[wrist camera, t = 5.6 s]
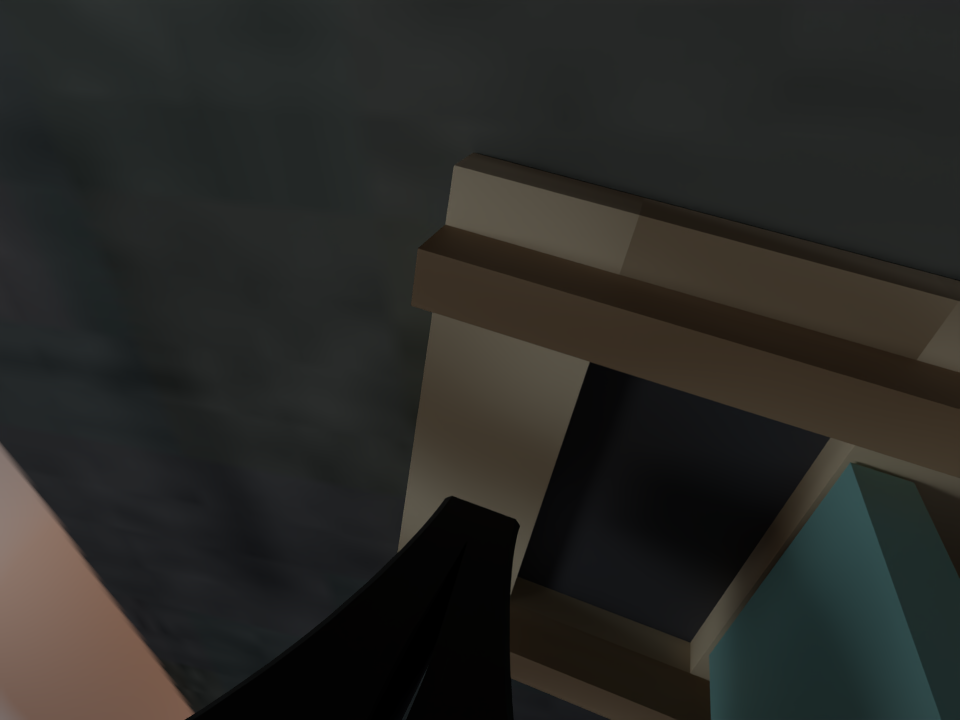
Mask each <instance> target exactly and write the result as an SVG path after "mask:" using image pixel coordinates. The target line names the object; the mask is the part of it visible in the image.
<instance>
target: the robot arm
mask: <svg viewBox="0 0 960 720" xmlns="http://www.w3.org/2000/svg"><path fill="white" fill-rule="evenodd" d="M519 528H520V525H519V523H518V522H517V520H516V519H514V518H511V517H509V516H506V515H503V514H501V513H498V512H495V511H492V510H490V509H487V508H484V507H482V506H479V505H476V504H473V503H471V502H468V501H465V500H463V499H460V498H457V497H454V496H450V497H447V498H445V499H444V501H443V502H442V503H441V505H440V506H439V507H438V509H437V510H436V511H435V512H434V513H433V515H432V516H431V517H430V518H429V520H428V521H427V522H426V523H425V524H424V525H423V526H422V528H421V529H420V530H419V531H418V532H417V533H416V534H415V535H414V536H413V537H412V538H411V540H410V541H409V542H408V543H407V544H406V545H405V546H404V547H403V548H402V549H401V550H400V551H399V552H398V553H397V554H396V555H395V556H394V557H393V558H392V559H391V560H390V561H389V562H388V563H387V564H386V565H385V566H384V567H383V568H382V569H381V570H380V571H379V572H378V573H377V574H376V575H375V576H374V577H372V578H371V579H370V580H369V581H368V582H367V583H366V584H365V585H364V586H363V587H362V588H360V589H359V590H358V591H357V592H356V593H355V594H354V595H352V596H351V597H350V598H349V599H348V600H347V601H346V602H344V603H343V604H342V605H341V606H340V607H339V608H338V609H336V610H335V611H334V612H333V613H332V614H331V615H330V616H328V617H327V618H326V619H325V620H324V621H322V622H321V623H320V624H319V625H317V626H316V627H315V628H314V629H313V630H311V631H310V632H309V633H308V634H306V635H305V636H304V637H302V638H301V639H300V640H299V641H297V642H296V643H295V644H293V645H292V646H291V647H289V648H288V649H287V650H286V651H284V652H283V653H282V654H280V655H279V656H278V657H276V658H275V659H274V660H272V661H271V662H270V663H268V664H267V665H265V666H264V667H263V668H261V669H260V670H258V671H257V672H255V673H254V674H253V675H251V676H250V677H248V678H247V679H245V680H244V681H243V682H241V683H240V684H238V685H237V686H235V687H234V688H233V689H231V690H230V691H228V692H227V693H225V694H224V695H222V696H221V697H219V698H218V699H216V700H215V701H213V702H212V703H210V704H209V705H207V706H206V707H204V708H203V709H201V710H200V711H198V712H197V713H195V714H193V715H192V716H190V717H189V718H187V719H185V720H402V718H403V716H404V714H405V712H406V710H407V708H408V706H409V704H410V702H411V700H412V698H413V696H414V694H415V692H416V690H417V687H418V685H419V683H420V681H421V679H422V677H423V675H424V673H425V671H426V669H427V671H426V674H425V677H424V679H423V681H422V684H421V686H420V689H419V691H418V693H417V696H416V698H415V700H414V703H413V705H412V707H411V710H410V712H409V714H408V717H407V719H406V720H513V706H512V689H511V671H510V592H511V578H512V566H513V557H514V551H515V545H516V540H517V535H518V531H519ZM428 665H429V666H428ZM427 667H428V668H427Z"/></svg>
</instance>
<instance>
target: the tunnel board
mask: <svg viewBox="0 0 960 720" xmlns="http://www.w3.org/2000/svg"><path fill="white" fill-rule="evenodd" d="M411 306H414V307H417V308H420V309H424V310H427V311H430V312H433V314H432V321H431V327H430V334H429V341H428V348H427V355H426V362H425V369H424V376H423V382H422V389H421V396H420V403H419V410H418V417H417V424H416V430H415V437H414V444H413V451H412V458H411V465H410V472H409V479H408V485H407V492H406V499H405V506H404V513H403V520H402V527H401V533H400V540H399V547H398V552H399V551H400V550H401V549H402V548H403V547H404V546H405V545H406V544H407V543H408V542H409V541H410V540H411V538H412V537H413V536H414V535H415V534H416V533H417V532H418V531H419V530H420V529H421V528H422V526H423V525H424V524H425V523H426V522H427V521H428V520H429V518H430V517H431V516H432V515H433V513H434V512H435V511H436V510H437V509H438V507H439V506H440V505H441V503H442V502H443V501H444V499H445V498H447V497H450V496H454V497H457V498H460V499H463V500H465V501H468V502H471V503H473V504H476V505H479V506H482V507H484V508H487V509H490V510H492V511H495V512H498V513H501V514H503V515H506V516H509V517H511V518H514V519H516V520H517V522H518V523H519V525H520V528H519V531H518V535H517V540H516V545H515V551H514V557H513V566H512V578H511V592H510V671H511V678H512V679H514V680H517V681H519V682H522V683H524V684H526V685H529V686H531V687H534V688H536V689H539V690H541V691H543V692H546V693H548V694H551V695H553V696H555V697H558V698H560V699H563V700H565V701H568V702H570V703H572V704H575V705H577V706H580V707H582V708H584V709H587V710H589V711H592V712H594V713H597V714H599V715H601V716H604V717H606V718H609V719H611V720H711V706H710V670H709V655H710V653H711V652H712V651H713V649H714V648H715V646H716V645H717V644H718V642H719V641H720V640H721V638H722V637H723V635H724V634H725V633H726V631H727V630H728V629H729V627H730V626H731V625H732V623H733V622H734V620H735V619H736V618H737V616H738V615H739V614H740V612H741V611H742V610H743V608H744V607H745V605H746V604H747V603H748V601H749V600H750V599H751V597H752V596H753V595H754V593H755V592H756V590H757V589H758V588H759V586H760V585H761V584H762V582H763V581H764V580H765V578H766V577H767V575H768V574H769V573H770V571H771V570H772V569H773V567H774V566H775V565H776V563H777V562H778V560H779V559H780V558H781V556H782V555H783V554H784V552H785V551H786V549H787V548H788V547H789V545H790V544H791V543H792V541H793V540H794V539H795V537H796V536H797V534H798V533H799V532H800V530H801V529H802V528H803V526H804V525H805V524H806V522H807V521H808V519H809V518H810V517H811V515H812V514H813V513H814V511H815V510H816V509H817V507H818V506H819V504H820V503H821V502H822V500H823V499H824V498H825V496H826V495H827V494H828V492H829V491H830V489H831V488H832V487H833V485H834V484H835V483H836V481H837V480H838V478H839V477H840V476H841V474H842V473H843V472H844V470H845V469H846V468H847V466H848V465H849V463H850V462H851V463H854V464H857V465H860V466H863V467H867V468H870V469H873V470H876V471H879V472H882V473H885V474H888V475H892V476H895V477H898V478H901V479H904V480H907V481H910V482H913V483H915V485H916V487H917V490H918V492H919V494H920V496H921V498H922V500H923V502H924V504H925V506H926V509H927V511H928V513H929V515H930V517H931V519H932V521H933V523H934V525H935V528H936V530H937V532H938V534H939V536H940V538H941V540H942V542H943V544H944V547H945V549H946V551H947V553H948V555H949V557H950V559H951V561H952V563H953V566H954V568H955V570H956V572H957V574H958V576H959V578H960V281H957V280H954V279H950V278H946V277H942V276H939V275H935V274H931V273H927V272H923V271H920V270H916V269H912V268H908V267H904V266H901V265H897V264H893V263H889V262H886V261H882V260H878V259H874V258H870V257H867V256H863V255H859V254H855V253H851V252H848V251H844V250H840V249H836V248H833V247H829V246H825V245H821V244H817V243H814V242H810V241H806V240H802V239H798V238H795V237H791V236H787V235H783V234H780V233H776V232H772V231H768V230H764V229H761V228H757V227H753V226H749V225H745V224H742V223H738V222H734V221H730V220H727V219H723V218H719V217H715V216H711V215H708V214H704V213H700V212H696V211H692V210H689V209H685V208H681V207H677V206H673V205H670V204H666V203H662V202H658V201H655V200H651V199H647V198H643V197H639V196H636V195H632V194H628V193H624V192H620V191H617V190H613V189H609V188H605V187H602V186H598V185H594V184H590V183H586V182H583V181H579V180H575V179H571V178H567V177H564V176H560V175H556V174H552V173H549V172H545V171H541V170H537V169H533V168H530V167H526V166H522V165H518V164H514V163H511V162H507V161H503V160H499V159H496V158H492V157H488V156H484V155H480V154H477V153H472V154H471V155H469V156H468V157H466V158H464V159H463V160H461V161H460V162H458V163H457V164H455V165H454V169H453V176H452V183H451V190H450V197H449V204H448V211H447V218H446V224H445V225H444V226H443V227H442V228H441V229H440V230H439V231H438V232H436V233H435V234H434V235H433V236H432V237H431V238H429V239H428V240H427V241H426V242H425V243H424V244H423V245H421V246H420V247H419V248H418V253H417V261H416V269H415V278H414V286H413V294H412V302H411Z"/></svg>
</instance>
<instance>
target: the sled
mask: <svg viewBox="0 0 960 720" xmlns="http://www.w3.org/2000/svg"><path fill="white" fill-rule="evenodd" d="M709 670H710V706H711V720H960V578H959V576H958V574H957V572H956V570H955V568H954V566H953V563H952V561H951V559H950V557H949V555H948V553H947V551H946V549H945V547H944V544H943V542H942V540H941V538H940V536H939V534H938V532H937V530H936V528H935V525H934V523H933V521H932V519H931V517H930V515H929V513H928V511H927V509H926V506H925V504H924V502H923V500H922V498H921V496H920V494H919V492H918V490H917V487H916V485H915V483H913V482H910V481H907V480H904V479H901V478H898V477H895V476H892V475H888V474H885V473H882V472H879V471H876V470H873V469H870V468H867V467H863V466H860V465H857V464H854V463H851V462H850V463H849V465H848V466H847V468H846V469H845V470H844V472H843V473H842V474H841V476H840V477H839V478H838V480H837V481H836V483H835V484H834V485H833V487H832V488H831V489H830V491H829V492H828V494H827V495H826V496H825V498H824V499H823V500H822V502H821V503H820V504H819V506H818V507H817V509H816V510H815V511H814V513H813V514H812V515H811V517H810V518H809V519H808V521H807V522H806V524H805V525H804V526H803V528H802V529H801V530H800V532H799V533H798V534H797V536H796V537H795V539H794V540H793V541H792V543H791V544H790V545H789V547H788V548H787V549H786V551H785V552H784V554H783V555H782V556H781V558H780V559H779V560H778V562H777V563H776V565H775V566H774V567H773V569H772V570H771V571H770V573H769V574H768V575H767V577H766V578H765V580H764V581H763V582H762V584H761V585H760V586H759V588H758V589H757V590H756V592H755V593H754V595H753V596H752V597H751V599H750V600H749V601H748V603H747V604H746V605H745V607H744V608H743V610H742V611H741V612H740V614H739V615H738V616H737V618H736V619H735V620H734V622H733V623H732V625H731V626H730V627H729V629H728V630H727V631H726V633H725V634H724V635H723V637H722V638H721V640H720V641H719V642H718V644H717V645H716V646H715V648H714V649H713V651H712V652H711V653H710V655H709Z"/></svg>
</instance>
